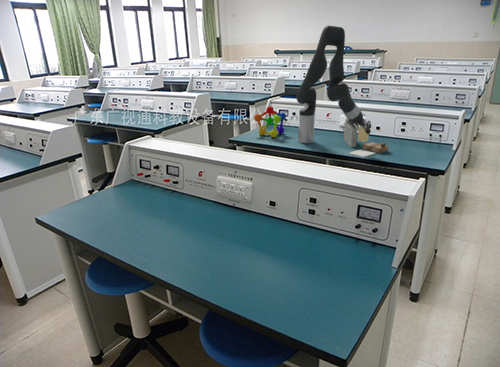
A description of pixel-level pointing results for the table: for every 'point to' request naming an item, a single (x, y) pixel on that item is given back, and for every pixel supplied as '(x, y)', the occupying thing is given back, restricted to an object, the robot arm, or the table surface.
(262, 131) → the molecular model
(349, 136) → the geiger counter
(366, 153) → the mat
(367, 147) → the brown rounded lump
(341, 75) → the robot arm
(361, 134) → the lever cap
